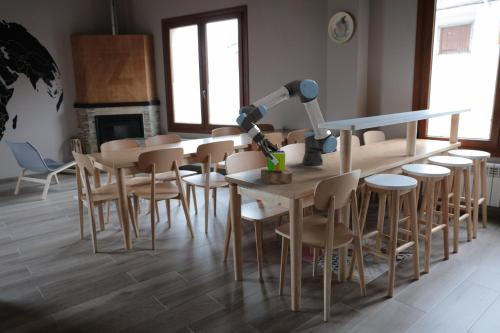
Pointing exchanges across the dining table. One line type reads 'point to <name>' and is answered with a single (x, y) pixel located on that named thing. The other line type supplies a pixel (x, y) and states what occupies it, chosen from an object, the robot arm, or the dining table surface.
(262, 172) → the walnut block
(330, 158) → the dining table surface
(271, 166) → the puzzle toy
